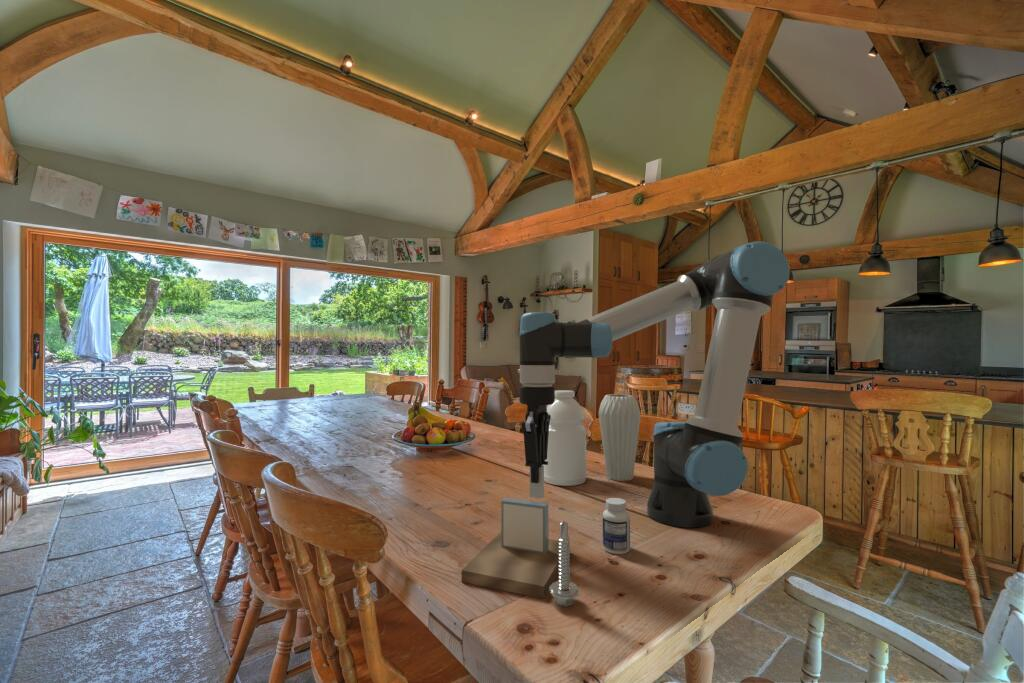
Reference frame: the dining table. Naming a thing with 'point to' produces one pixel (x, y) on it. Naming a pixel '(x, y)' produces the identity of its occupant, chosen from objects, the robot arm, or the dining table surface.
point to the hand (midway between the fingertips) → (536, 496)
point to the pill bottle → (616, 527)
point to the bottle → (566, 442)
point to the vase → (619, 434)
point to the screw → (564, 572)
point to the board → (513, 569)
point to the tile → (524, 525)
